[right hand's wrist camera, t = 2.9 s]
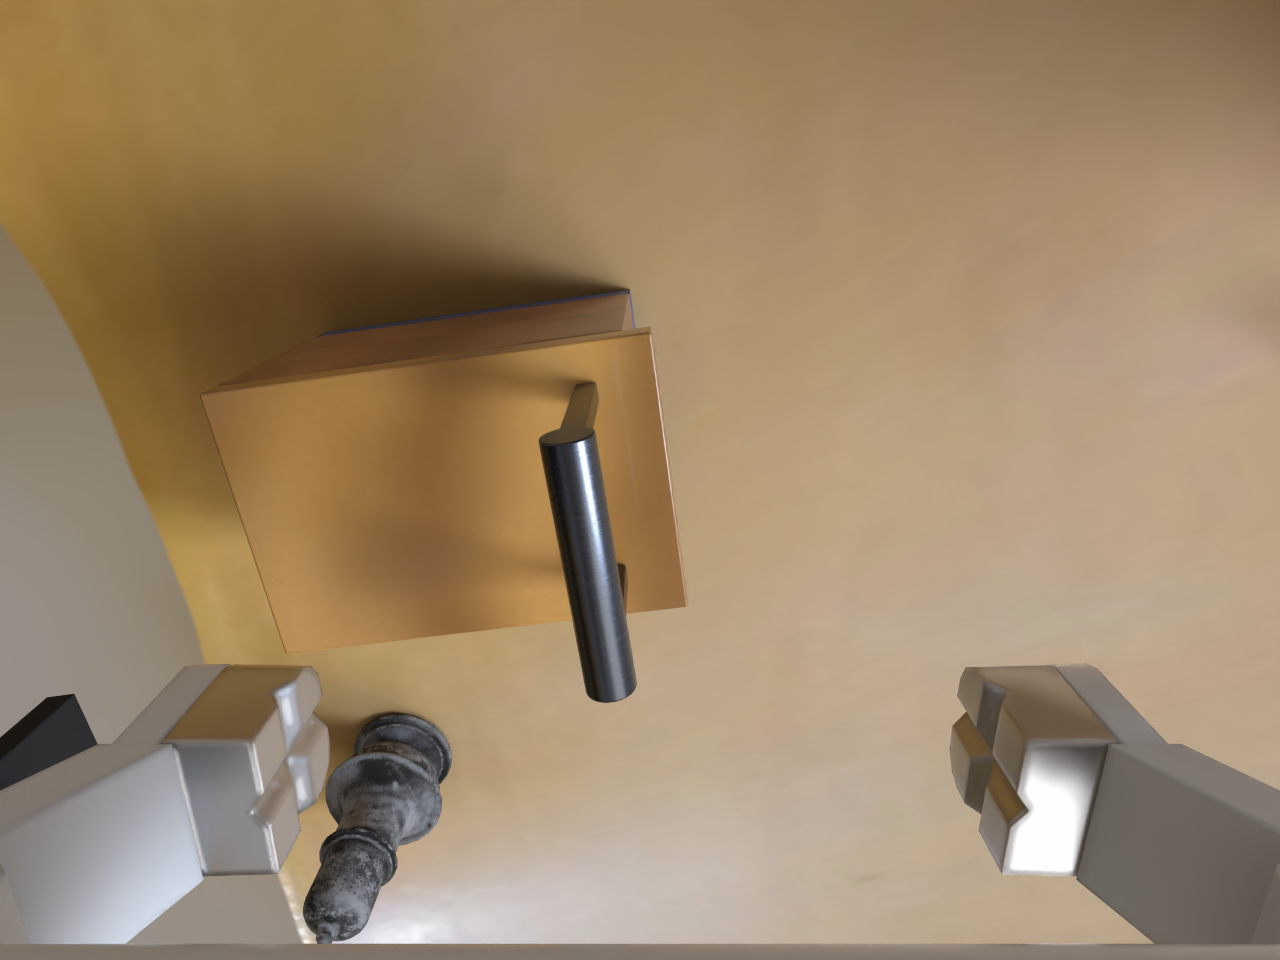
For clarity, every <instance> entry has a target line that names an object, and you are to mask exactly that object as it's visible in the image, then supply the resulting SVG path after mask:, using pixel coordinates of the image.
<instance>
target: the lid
mask: <svg viewBox="0 0 1280 960" xmlns="http://www.w3.org/2000/svg"><path fill="white" fill-rule="evenodd" d="M200 398H201V401H202V404H203V407H204V410H205V413H206V416H207V419H208V422H209V425H210V428H211V431H212V434H213V437H214V440H215V443H216V446H217V449H218V452H219V455H220V458H221V461H222V464H223V467H224V470H225V473H226V476H227V479H228V482H229V485H230V488H231V491H232V494H233V497H234V500H235V503H236V506H237V509H238V512H239V515H240V518H241V521H242V524H243V527H244V530H245V533H246V536H247V539H248V542H249V545H250V548H251V551H252V554H253V557H254V560H255V563H256V566H257V569H258V572H259V575H260V578H261V581H262V584H263V587H264V590H265V593H266V596H267V599H268V602H269V605H270V608H271V611H272V614H273V617H274V620H275V623H276V626H277V629H278V632H279V635H280V638H281V641H282V644H283V647H284V650H285V652H286V653H294V652H303V651H311V650H320V649H329V648H337V647H346V646H354V645H363V644H371V643H380V642H388V641H397V640H406V639H414V638H423V637H431V636H440V635H448V634H457V633H465V632H474V631H483V630H491V629H500V628H508V627H517V626H525V625H534V624H542V623H551V622H560V621H568V620H573V626H574V631H575V636H576V641H577V647H578V652H579V657H580V662H581V667H582V673H583V678H584V683H585V688H586V693H587V695H588V696H589V697H590V698H591V699H592V700H594V701H597V702H603V703H609V702H616V701H619V700H622V699H624V698H626V697H628V696H629V695H630V694H632V693H633V691H634V690H635V688H636V685H637V681H636V675H635V669H634V663H633V657H632V651H631V645H630V639H629V632H628V626H627V620H626V614H628V613H637V612H645V611H654V610H662V609H671V608H679V607H686V606H687V605H688V599H687V589H686V581H685V574H684V566H683V559H682V551H681V544H680V536H679V529H678V521H677V514H676V506H675V499H674V492H673V484H672V477H671V469H670V462H669V454H668V447H667V439H666V432H665V424H664V417H663V409H662V402H661V394H660V387H659V380H658V372H657V365H656V357H655V350H654V342H653V335H652V329H651V327H644V328H637V329H630V330H622V331H615V332H608V333H601V334H593V335H586V336H579V337H571V338H564V339H557V340H550V341H542V342H535V343H528V344H521V345H513V346H506V347H499V348H491V349H484V350H477V351H470V352H462V353H455V354H448V355H440V356H433V357H426V358H419V359H411V360H404V361H397V362H390V363H382V364H375V365H368V366H360V367H353V368H346V369H339V370H331V371H324V372H317V373H309V374H302V375H295V376H288V377H280V378H273V379H266V380H259V381H251V382H244V383H237V384H229V385H222V386H216V387H214V388H212V389H210V390H208V391H206V392H204V393H202V394H200Z"/></svg>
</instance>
